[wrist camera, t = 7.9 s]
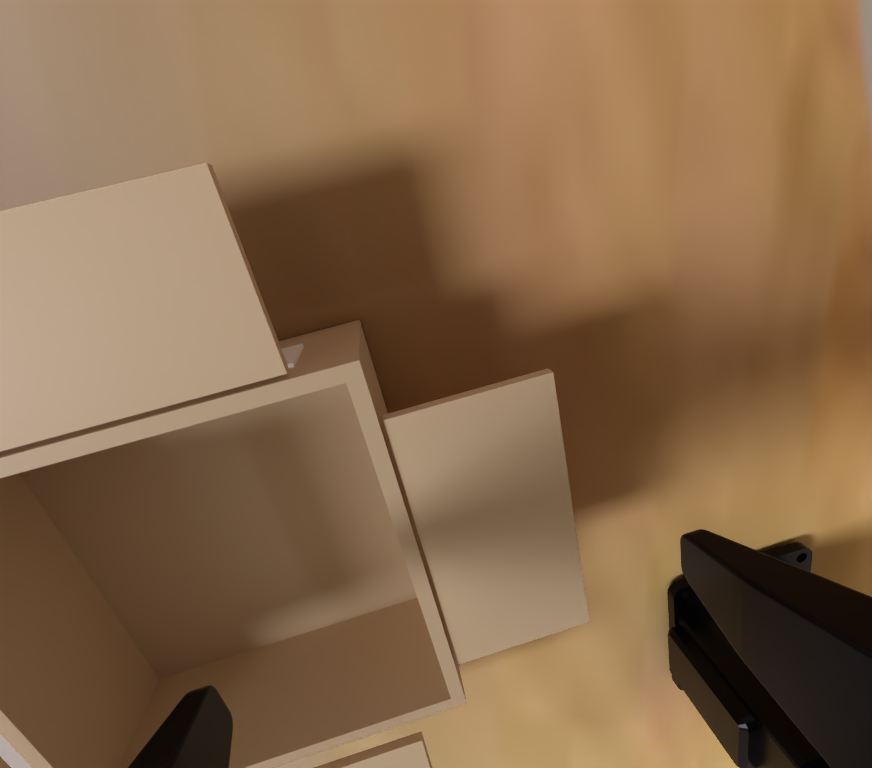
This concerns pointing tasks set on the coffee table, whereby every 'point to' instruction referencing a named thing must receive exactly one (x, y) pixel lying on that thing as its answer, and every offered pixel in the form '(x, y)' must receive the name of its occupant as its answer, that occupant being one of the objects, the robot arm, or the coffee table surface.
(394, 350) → the coffee table surface
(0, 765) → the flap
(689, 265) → the coffee table surface
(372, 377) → the carton
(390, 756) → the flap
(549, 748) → the coffee table surface
